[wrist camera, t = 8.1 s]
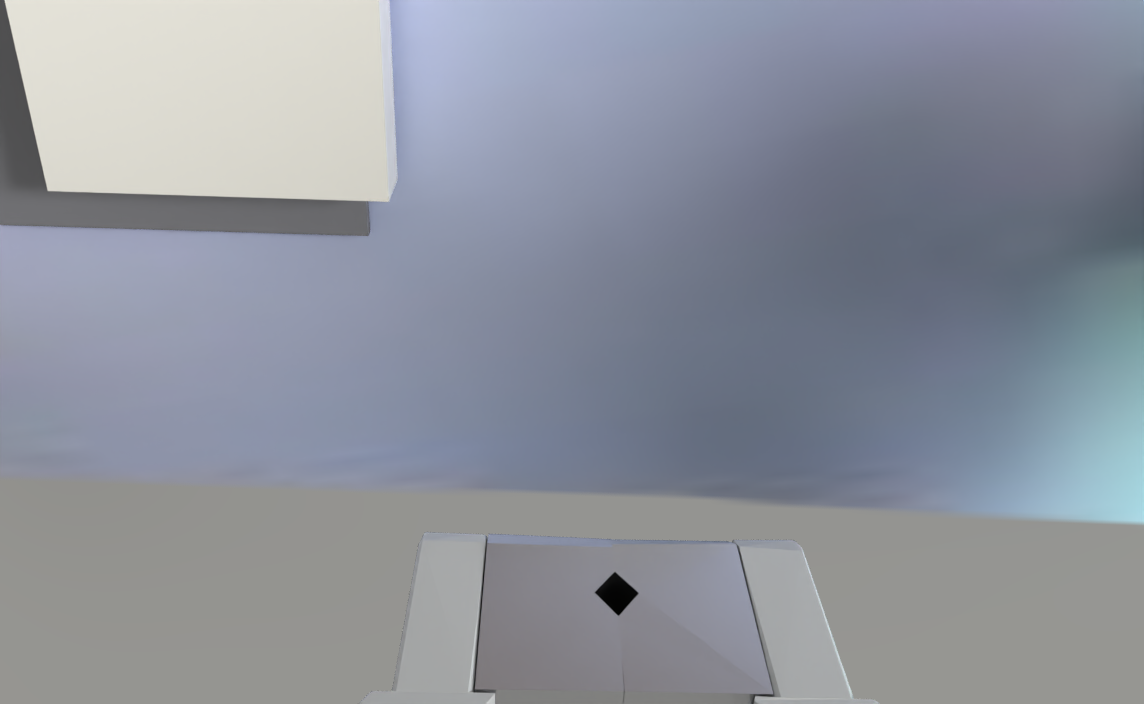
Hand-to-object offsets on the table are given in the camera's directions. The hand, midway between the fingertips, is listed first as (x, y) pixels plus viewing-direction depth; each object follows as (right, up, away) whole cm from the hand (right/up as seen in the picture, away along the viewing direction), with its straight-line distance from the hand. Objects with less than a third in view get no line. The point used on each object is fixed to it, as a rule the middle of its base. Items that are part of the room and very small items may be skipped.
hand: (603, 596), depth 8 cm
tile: (-6, +11, +20) cm, 24 cm away
